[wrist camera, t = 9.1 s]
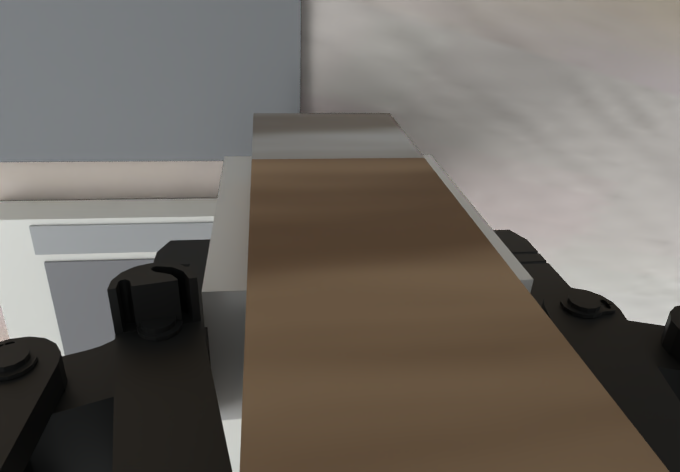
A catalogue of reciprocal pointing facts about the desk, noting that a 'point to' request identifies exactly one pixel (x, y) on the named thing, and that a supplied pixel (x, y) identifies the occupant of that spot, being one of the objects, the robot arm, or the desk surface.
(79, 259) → the switch board
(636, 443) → the wooden beam block
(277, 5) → the mat
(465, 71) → the desk surface
